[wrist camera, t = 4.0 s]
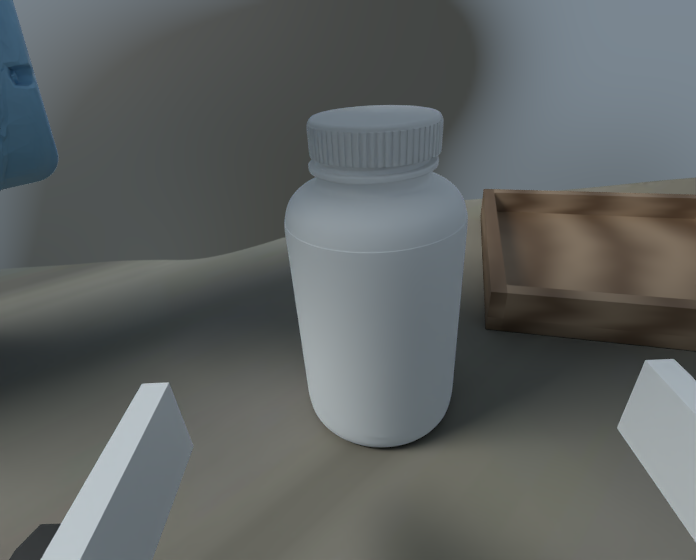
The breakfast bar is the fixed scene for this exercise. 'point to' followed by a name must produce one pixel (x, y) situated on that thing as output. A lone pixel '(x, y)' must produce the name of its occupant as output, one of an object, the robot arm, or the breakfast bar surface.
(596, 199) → the tray
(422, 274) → the pill bottle
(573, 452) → the breakfast bar surface
